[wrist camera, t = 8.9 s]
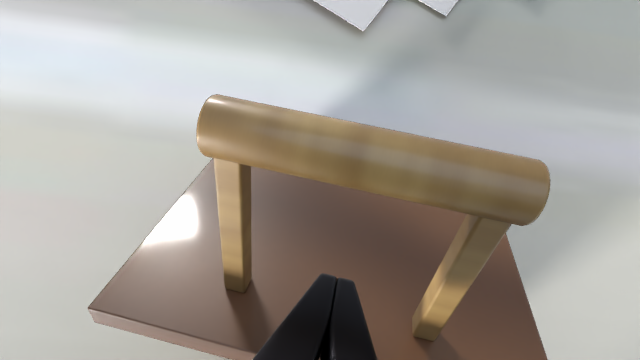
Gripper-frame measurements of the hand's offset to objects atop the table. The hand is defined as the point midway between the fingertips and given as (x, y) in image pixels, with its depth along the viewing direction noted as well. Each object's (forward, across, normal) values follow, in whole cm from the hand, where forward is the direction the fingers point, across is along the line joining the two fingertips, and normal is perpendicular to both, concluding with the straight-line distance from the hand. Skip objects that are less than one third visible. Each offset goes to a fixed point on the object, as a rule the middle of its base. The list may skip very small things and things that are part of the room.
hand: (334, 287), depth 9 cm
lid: (+4, 0, +3) cm, 5 cm away
